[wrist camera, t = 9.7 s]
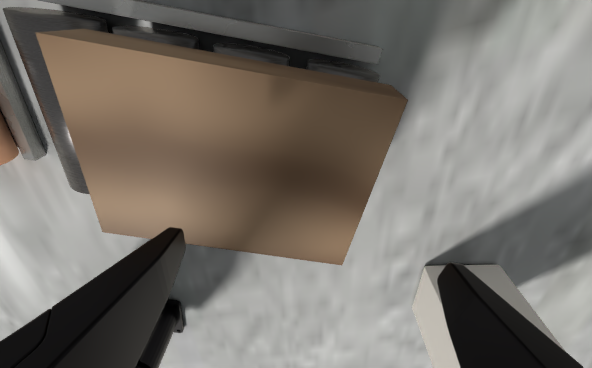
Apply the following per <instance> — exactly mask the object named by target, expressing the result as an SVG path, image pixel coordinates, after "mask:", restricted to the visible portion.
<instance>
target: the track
mask: <svg viewBox="0 0 592 368" xmlns="http://www.w3.org/2000/svg"><path fill="white" fill-rule="evenodd" d="M39 1H45V2H50V3H55V4H61V5H66V6H71V7H76V8H82V9H87V10H92V11H98V12H103V13H108V14H114V15H119V16H124V17H129V18H135V19H140V20H145V21H151V22H156V23H161V24H167V25H172V26H177V27H182V28H188V29H193V30H198V31H204V32H209V33H214V34H219V35H225V36H230V37H235V38H241V39H246V40H251V41H257V42H262V43H267V44H272V45H278V46H283V47H288V48H294V49H299V50H304V51H310V52H315V53H320V54H325V55H331V56H336V57H341V58H347V59H352V60H357V61H363V62H368V63H373V64H378V62H379V59H380V56H381V53H382V48H380V47H378V46H372V45H367V44H362V43H357V42H352V41H347V40H341V39H336V38H331V37H326V36H321V35H316V34H310V33H305V32H300V31H295V30H290V29H284V28H279V27H274V26H269V25H264V24H259V23H253V22H248V21H243V20H238V19H233V18H228V17H222V16H217V15H212V14H207V13H202V12H196V11H191V10H186V9H181V8H176V7H171V6H165V5H160V4H155V3H150V2H145V1H139V0H39ZM3 11H4V14H5V17H6V19H7V22H8V25H9V27H10V30H11V32H12V35H13V38H14V40H15V43H16V46H17V48H18V51H19V53H20V56H21V59H22V61H23V64H24V67H25V69H26V72H27V74H28V77H29V80H30V82H31V85H32V88H33V90H34V93H35V95H36V98H37V101H38V103H39V106H40V109H41V111H42V114H43V116H44V119H45V122H46V124H47V127H48V130H49V132H50V135H51V137H52V140H53V143H54V145H55V148H56V151H57V153H58V156H59V158H60V161H61V164H62V166H63V169H64V172H65V174H66V177H67V179H68V182H69V185H70V187H71V188H72V189H73V190H75V191H77V192H80V193H85V194H90V193H89V190H88V187H87V184H86V181H85V178H84V175H83V172H82V169H81V166H80V163H79V160H78V158H77V155H76V152H75V149H74V146H73V143H72V140H71V137H70V134H69V131H68V128H67V125H66V122H65V119H64V116H63V113H62V110H61V107H60V104H59V101H58V98H57V95H56V92H55V89H54V86H53V83H52V80H51V77H50V74H49V72H48V69H47V66H46V63H45V60H44V57H43V54H42V51H41V48H40V45H39V42H38V39H37V36H36V33H35V32H47V31H60V30H74V29H89V30H94V31H100V32H105V33H108V29H107V24H106V20H105V19H102V18H99V17H95V16H91V15H86V14H80V13H74V12H67V11H59V10H50V9H40V8H25V7H8V8H3ZM112 31H113V34H116V35H122V36H127V37H132V38H138V39H143V40H149V41H154V42H160V43H165V44H170V45H176V46H181V47H187V48H192V49H197V50H199V43H198V38H197V37H195V36H192V35H189V34H185V33H181V32H176V31H171V30H165V29H158V28H150V27H139V26H115V27H112ZM214 53H219V54H225V55H230V56H235V57H241V58H246V59H252V60H257V61H263V62H268V63H273V64H279V65H284V66H288V65H289V56H288V55H286V54H283V53H281V52H278V51H274V50H270V49H266V48H261V47H256V46H250V45H243V44H233V43H218V44H214ZM306 70H311V71H317V72H322V73H328V74H333V75H339V76H344V77H349V78H355V79H360V80H366V81H371V82H377V83H378V80H379V77H380V75H379V74H377V73H375V72H373V71H371V70H368V69H365V68H362V67H358V66H355V65H351V64H346V63H341V62H336V61H329V60H320V59H312V60H308V62H307V68H306ZM0 109H1V111H2V113H3V115H4V117H5V119H6V121H7V124H8V126H9V128H10V130H11V132H12V134H13V136H14V139H15V141H16V143H17V145H18V147H19V149H20V151H21V154H22V156H23V158H24V159H27V160H34V161H36V160H38V159H39V158H41V157H43V156H45V155H46V152H45V150H44V147H43V145H42V142H41V140H40V138H39V135H38V133H37V130H36V128H35V125H34V123H33V120H32V118H31V115H30V113H29V111H28V108H27V106H26V103H25V101H24V98H23V96H22V93H21V91H20V89H19V86H18V84H17V81H16V79H15V76H14V74H13V71H12V69H11V67H10V64H9V62H8V59H7V57H6V54H5V52H4V49H3V47H2V44H1V42H0Z"/></svg>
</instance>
